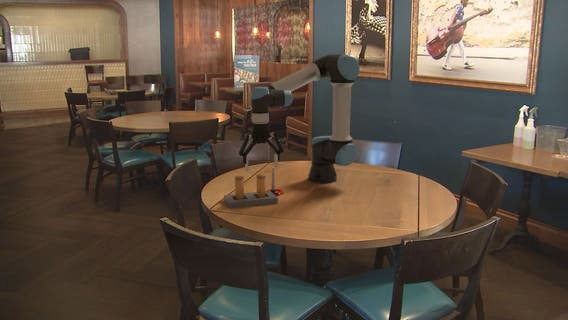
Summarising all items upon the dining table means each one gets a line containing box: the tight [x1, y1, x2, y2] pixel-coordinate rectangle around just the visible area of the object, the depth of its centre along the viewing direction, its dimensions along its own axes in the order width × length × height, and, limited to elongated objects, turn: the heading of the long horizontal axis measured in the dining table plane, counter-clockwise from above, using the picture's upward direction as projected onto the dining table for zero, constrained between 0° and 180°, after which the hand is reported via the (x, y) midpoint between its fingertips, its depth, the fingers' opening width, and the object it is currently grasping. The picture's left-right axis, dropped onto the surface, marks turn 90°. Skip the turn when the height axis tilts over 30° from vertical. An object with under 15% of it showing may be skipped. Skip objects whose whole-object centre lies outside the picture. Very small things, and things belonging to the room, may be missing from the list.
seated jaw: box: [234, 175, 245, 200], centre depth 218 cm, size 4×4×12 cm
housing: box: [223, 190, 279, 209], centre depth 220 cm, size 22×12×2 cm, turn 108°
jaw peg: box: [255, 173, 267, 198], centre depth 221 cm, size 4×4×12 cm
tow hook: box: [266, 167, 285, 197], centre depth 234 cm, size 8×13×9 cm
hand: (261, 169), depth 219 cm, fingers open, 13 cm apart
